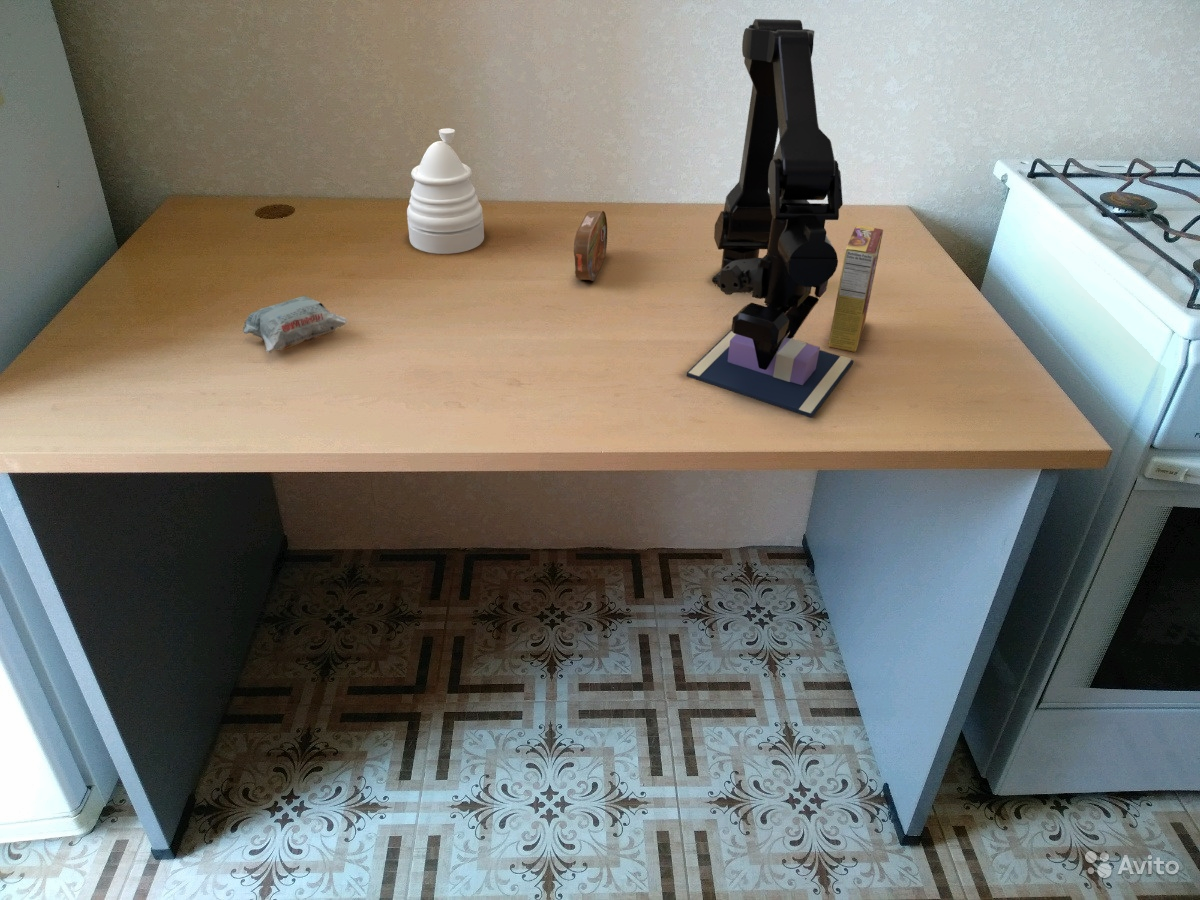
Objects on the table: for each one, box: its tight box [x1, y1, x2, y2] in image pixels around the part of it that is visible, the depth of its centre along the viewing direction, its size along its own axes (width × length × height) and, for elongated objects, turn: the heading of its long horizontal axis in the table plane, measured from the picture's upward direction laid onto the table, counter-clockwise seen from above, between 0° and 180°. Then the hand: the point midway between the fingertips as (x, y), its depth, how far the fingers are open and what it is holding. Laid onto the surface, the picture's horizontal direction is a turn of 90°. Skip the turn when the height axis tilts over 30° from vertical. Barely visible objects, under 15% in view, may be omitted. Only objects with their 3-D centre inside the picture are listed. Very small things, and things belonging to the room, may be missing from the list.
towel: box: [686, 329, 854, 419], centre depth 122 cm, size 16×18×1 cm
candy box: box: [827, 225, 884, 353], centre depth 126 cm, size 9×4×15 cm, turn 158°
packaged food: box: [242, 295, 348, 354], centre depth 124 cm, size 9×12×5 cm
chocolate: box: [728, 334, 821, 385], centre depth 121 cm, size 5×11×4 cm, turn 59°
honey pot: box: [406, 127, 485, 255], centre depth 149 cm, size 13×13×18 cm
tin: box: [573, 210, 608, 282], centre depth 144 cm, size 15×3×8 cm, turn 168°
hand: (772, 357), depth 121 cm, fingers open, 6 cm apart
